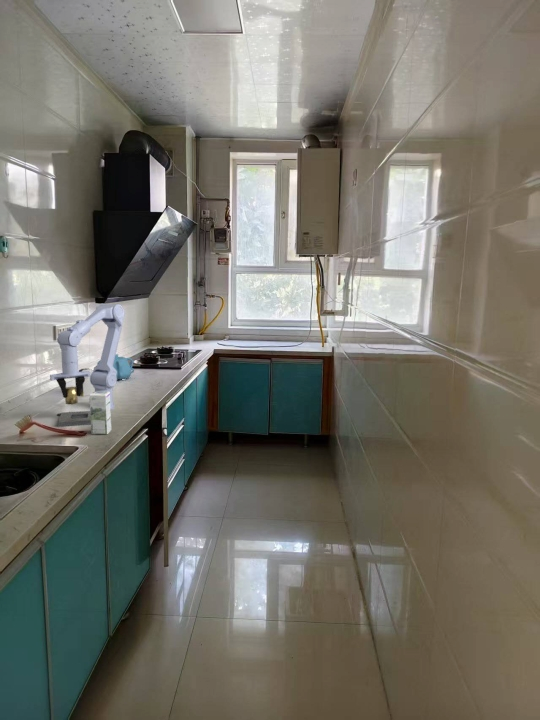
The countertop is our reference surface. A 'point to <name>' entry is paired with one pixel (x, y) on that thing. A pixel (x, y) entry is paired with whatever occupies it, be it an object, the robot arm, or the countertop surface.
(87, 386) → the medicine bottle
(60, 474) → the countertop surface
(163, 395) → the countertop surface
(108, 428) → the syrup box
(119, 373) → the decorative pot
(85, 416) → the steel plate
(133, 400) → the countertop surface
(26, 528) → the countertop surface
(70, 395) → the hub peg
